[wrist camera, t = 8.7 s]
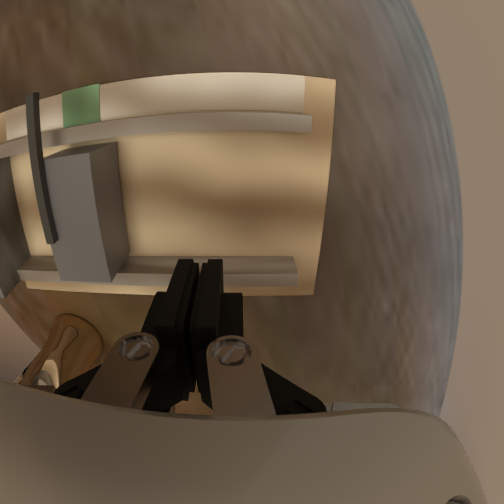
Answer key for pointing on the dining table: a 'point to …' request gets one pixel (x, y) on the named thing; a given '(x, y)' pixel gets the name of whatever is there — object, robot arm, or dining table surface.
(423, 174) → the dining table surface
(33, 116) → the slider
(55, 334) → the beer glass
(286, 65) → the dining table surface
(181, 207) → the gauge board
